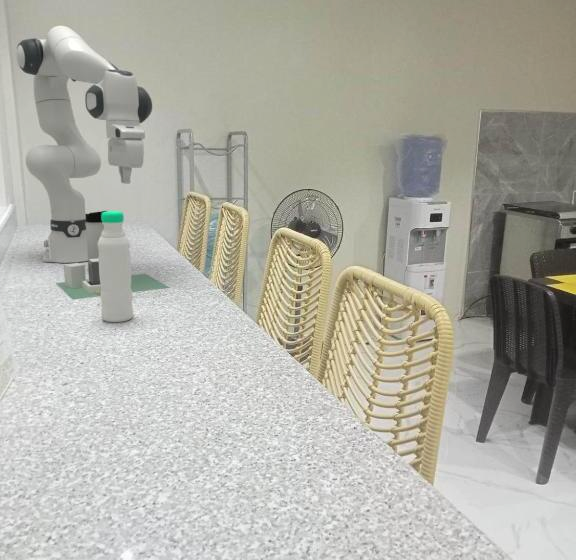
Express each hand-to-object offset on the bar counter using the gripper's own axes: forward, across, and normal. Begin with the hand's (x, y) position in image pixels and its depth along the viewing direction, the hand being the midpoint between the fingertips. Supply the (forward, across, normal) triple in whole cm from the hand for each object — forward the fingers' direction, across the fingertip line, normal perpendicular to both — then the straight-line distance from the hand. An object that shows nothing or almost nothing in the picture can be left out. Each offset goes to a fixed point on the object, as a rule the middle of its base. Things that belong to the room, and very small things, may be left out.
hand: (125, 183), depth 158 cm
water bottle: (+29, +31, -13) cm, 45 cm away
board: (+29, +3, -6) cm, 30 cm away
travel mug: (+29, -17, -4) cm, 34 cm away
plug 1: (+28, -1, -15) cm, 32 cm away
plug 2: (+28, +6, -10) cm, 30 cm away
